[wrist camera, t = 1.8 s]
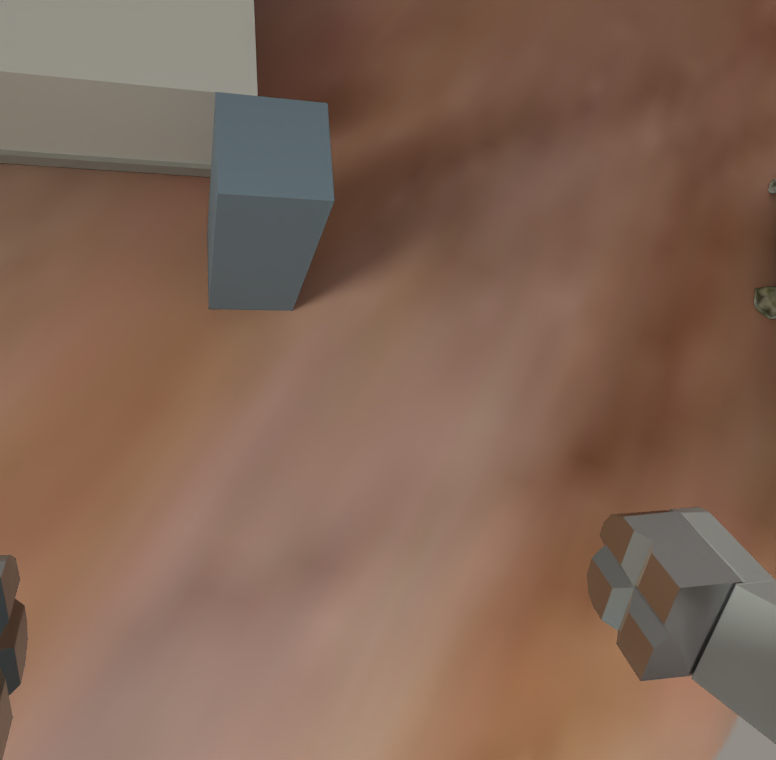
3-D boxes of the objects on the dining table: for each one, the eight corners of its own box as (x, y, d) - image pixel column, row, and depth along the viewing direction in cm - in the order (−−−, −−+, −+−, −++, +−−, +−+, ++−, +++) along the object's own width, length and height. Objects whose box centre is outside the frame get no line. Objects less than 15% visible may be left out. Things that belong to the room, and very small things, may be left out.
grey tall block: (208, 309, 38) (217, 193, 27) (207, 232, 39) (215, 91, 28) (292, 310, 39) (334, 200, 28) (288, 236, 40) (327, 103, 29)
